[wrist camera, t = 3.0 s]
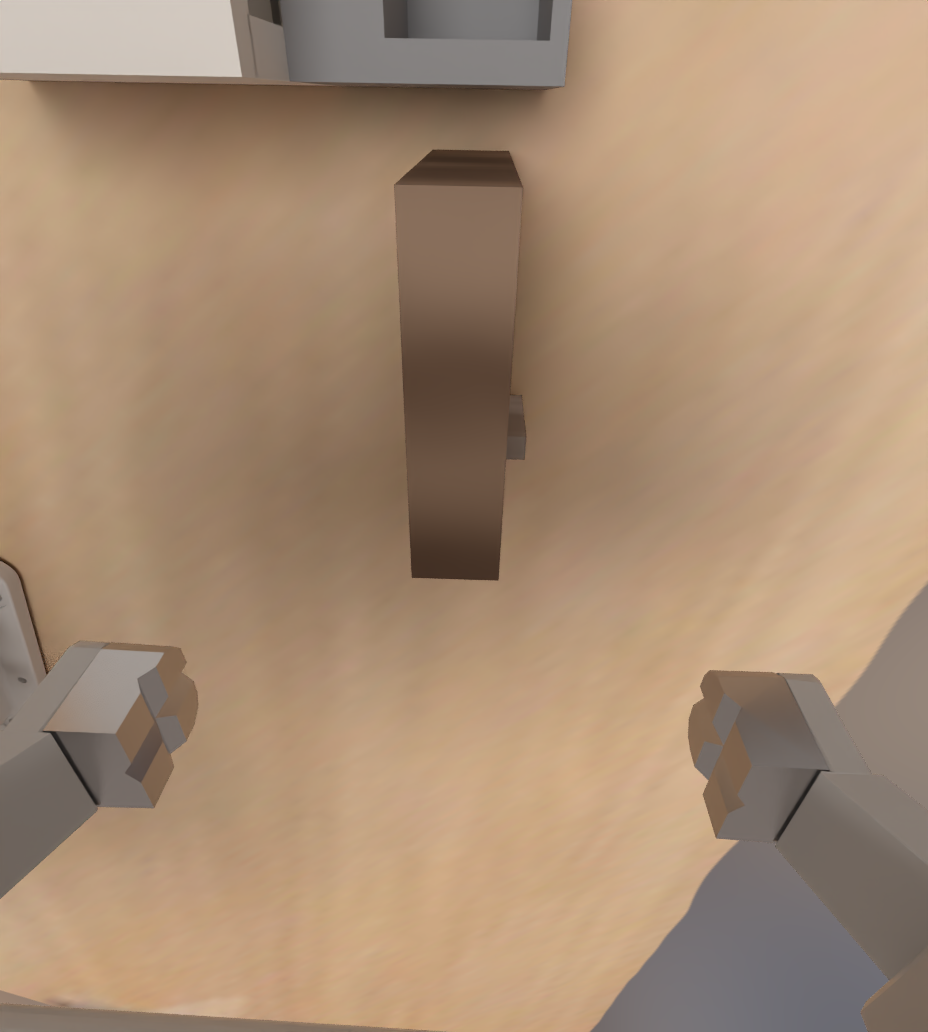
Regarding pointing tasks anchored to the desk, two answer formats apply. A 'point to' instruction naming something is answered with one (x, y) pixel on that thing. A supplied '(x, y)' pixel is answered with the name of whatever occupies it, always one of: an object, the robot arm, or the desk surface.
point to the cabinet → (289, 42)
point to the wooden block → (458, 355)
